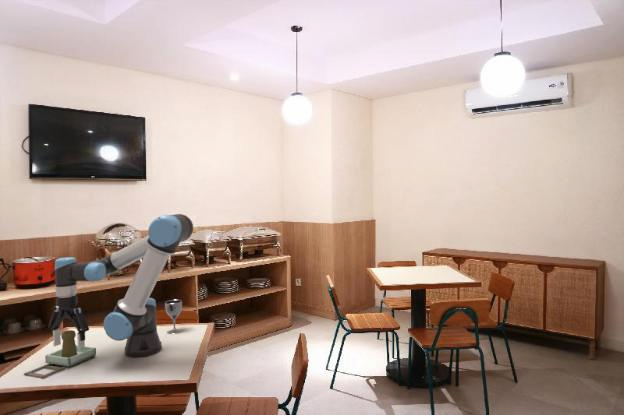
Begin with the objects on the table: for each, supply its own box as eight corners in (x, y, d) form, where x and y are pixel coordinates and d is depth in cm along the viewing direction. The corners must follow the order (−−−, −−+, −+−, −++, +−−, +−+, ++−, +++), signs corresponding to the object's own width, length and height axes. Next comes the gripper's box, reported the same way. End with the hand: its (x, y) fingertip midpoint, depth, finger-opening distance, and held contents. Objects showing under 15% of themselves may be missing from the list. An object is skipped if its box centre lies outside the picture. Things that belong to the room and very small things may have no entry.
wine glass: (168, 329, 220) (167, 300, 220) (184, 328, 221) (183, 299, 221) (164, 334, 213) (163, 303, 212) (181, 333, 213) (180, 303, 213)
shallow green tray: (96, 354, 184) (95, 347, 184) (69, 366, 172) (68, 358, 172) (73, 351, 189) (73, 344, 189) (45, 362, 177) (45, 355, 177)
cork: (57, 359, 177) (56, 333, 177) (68, 354, 183) (67, 328, 183) (70, 360, 176) (69, 333, 176) (81, 355, 182) (80, 329, 182)
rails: (94, 356, 185) (94, 355, 185) (44, 378, 163) (44, 376, 163) (75, 354, 189) (75, 352, 189) (23, 375, 167) (23, 373, 167)
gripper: (97, 295, 178) (99, 346, 179) (53, 291, 187) (55, 341, 188) (81, 299, 171) (83, 353, 172) (36, 295, 180) (39, 346, 181)
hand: (69, 346), depth 180 cm, fingers open, 13 cm apart
